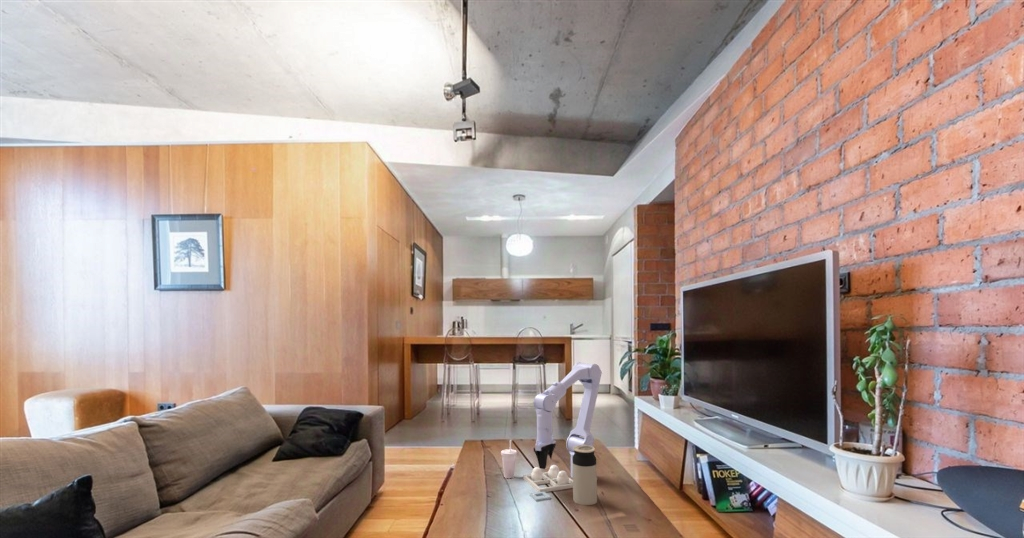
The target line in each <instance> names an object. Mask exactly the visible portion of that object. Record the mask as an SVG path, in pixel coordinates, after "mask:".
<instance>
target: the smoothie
mask: <svg viewBox="0 0 1024 538" xmlns="http://www.w3.org/2000/svg"><path fill="white" fill-rule="evenodd" d="M500 455H501V459H502V460H501V461H502V469H503V478H504V477H505V479H507V478H508V479H509V480H510V478H511V479H513V478H515V469H516V460H517V455H518V452H517V450H516V449H512V439H509V448H506V449H503V450H501V451H500Z"/></svg>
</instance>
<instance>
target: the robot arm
mask: <svg viewBox="0 0 1024 538" xmlns="http://www.w3.org/2000/svg"><path fill="white" fill-rule="evenodd" d="M602 374H603V373H602V370H601V367H600V366H599V365H598V363H597V364H596V363H593V364H592V363H585V362H581V361H579V362H576V363H575V364H574V365H573V366H572V368H571V371H570V372H569V373H568V374H567V375H565V376H564V377H563V379H561V380H560V381H554V382H552V384H551V386H549V387H548V388H547V389H545V390H544V391H543V392H542V393H538V394H537V395H535V397H534V399H533V400H534V401H533V402H532V403H533V404H532V405H533V407H534V408H535V413H536V441H535V444H534V447H533V452H534V454H535V456H536V459H537V463H538V467H539V468H540V469H541V470H542V469H543V470H545V468H546V463H547V456H548V455H549V456H550V459H551V460H552V459H553V458H552V457H553V453H554V450H555V448H556V442H557V441H556V440H555V438H554V437H555V435H553V411H554V410H555V408H556V405H557V403H558V402H559V400H561V399H562V398H563V397H565V395H566V394H567V389H569V388H570V387H572V385H574V384H575V383H577V382H578V381H579V382H580V384H582V385H583V387H584V390H583V394H582V395H583V396H582V399H581V402H580V403H581V404H580V408H579V414H578V416H577V422H576V425H575V427H574V428H573V429H572V430H570V432H569V436H568V437H567V439H566V443H565V447H566V449H567V451H568V453H569V454H570V478H571V479H573V455H574V450H573V447H575V446H578V445H588V446H592V447H594V441H595V437H594V435H593V434H592V433H591V427H592V421H593V419H594V418H593V417H594V414H595V413H594V412H595V407H596V403H597V398H598V394H599V390H600V383H601V378H602ZM594 448H595V447H594ZM546 469H547V468H546ZM597 480H598V478H597Z"/></svg>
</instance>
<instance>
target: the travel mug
mask: <svg viewBox="0 0 1024 538" xmlns="http://www.w3.org/2000/svg"><path fill="white" fill-rule="evenodd" d="M573 450H574V455H573V478H572V480H573V488H572V498H573V499H572V500H573V502H574V503H575V504H578V505H581V506H592V505H595V504H597V503H598V481H597V479H598V477H597V476H598V475H597V472H598V471H597V470H598V469H597V457H596V455H595V451H596V448H595V447H592V446H588V445H578V446H575V447H573Z"/></svg>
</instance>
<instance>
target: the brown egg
mask: <svg viewBox="0 0 1024 538" xmlns="http://www.w3.org/2000/svg"><path fill="white" fill-rule="evenodd" d="M550 466H552V458H551V459H550V456H549V455H548V456H547V463H546V468H545V469H548V468H549V469H550ZM545 469H544V470H545Z"/></svg>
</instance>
